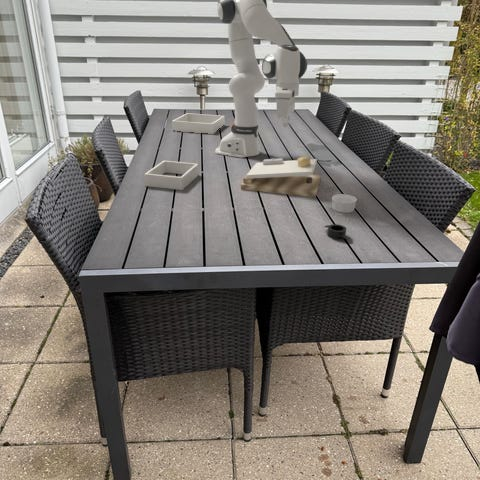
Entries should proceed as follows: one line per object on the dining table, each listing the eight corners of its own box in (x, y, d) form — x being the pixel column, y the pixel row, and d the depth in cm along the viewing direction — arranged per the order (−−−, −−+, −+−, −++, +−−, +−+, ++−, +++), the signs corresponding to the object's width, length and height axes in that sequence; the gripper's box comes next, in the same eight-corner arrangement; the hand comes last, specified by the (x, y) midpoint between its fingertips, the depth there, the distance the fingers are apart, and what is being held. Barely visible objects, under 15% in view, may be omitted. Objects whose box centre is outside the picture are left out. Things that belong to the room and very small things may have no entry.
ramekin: (341, 215, 165) (342, 204, 163) (325, 207, 172) (327, 196, 170) (360, 211, 168) (362, 200, 166) (344, 203, 175) (346, 192, 173)
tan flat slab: (240, 189, 186) (241, 180, 185) (252, 173, 206) (253, 164, 204) (315, 197, 180) (316, 187, 178) (320, 179, 199) (321, 171, 198)
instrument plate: (247, 178, 186) (245, 167, 184) (256, 166, 202) (255, 155, 200) (312, 175, 179) (311, 163, 177) (316, 162, 194) (316, 151, 193)
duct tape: (345, 230, 154) (346, 222, 152) (350, 243, 145) (352, 235, 143) (322, 229, 154) (323, 221, 153) (326, 242, 145) (327, 234, 144)
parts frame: (145, 185, 188) (144, 174, 185) (164, 171, 205) (163, 160, 203) (182, 190, 184) (181, 178, 182) (198, 175, 202) (198, 163, 199)
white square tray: (172, 131, 275) (172, 120, 272) (187, 122, 296) (186, 113, 294) (212, 134, 269) (212, 124, 267) (224, 125, 291) (224, 115, 288)
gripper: (284, 86, 190) (282, 121, 195) (274, 93, 172) (273, 131, 178) (299, 87, 188) (297, 121, 194) (291, 94, 170) (289, 132, 176)
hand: (285, 126), depth 186 cm, fingers closed
